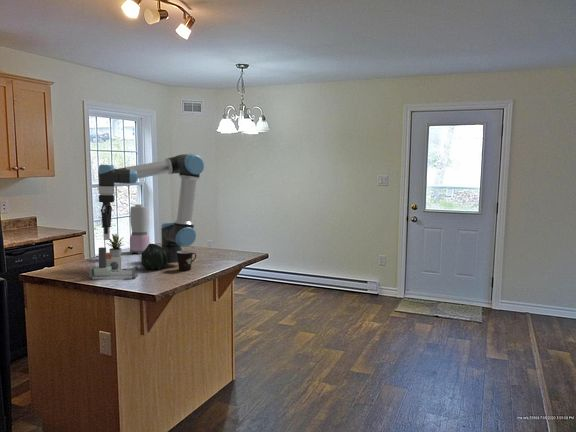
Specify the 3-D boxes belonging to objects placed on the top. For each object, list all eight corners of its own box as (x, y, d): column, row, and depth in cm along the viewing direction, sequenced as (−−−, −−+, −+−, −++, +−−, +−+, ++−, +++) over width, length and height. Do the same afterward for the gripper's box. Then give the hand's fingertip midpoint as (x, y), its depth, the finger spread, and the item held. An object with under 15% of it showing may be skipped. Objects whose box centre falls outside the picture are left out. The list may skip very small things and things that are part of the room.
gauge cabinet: (121, 271, 236) (121, 256, 235) (118, 274, 230) (118, 259, 229) (103, 271, 235) (103, 257, 234) (100, 274, 228) (99, 259, 228)
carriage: (111, 272, 226) (111, 246, 224) (108, 275, 220) (108, 248, 218) (97, 272, 225) (96, 246, 223) (93, 275, 219) (93, 248, 217)
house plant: (98, 258, 271) (97, 231, 270) (120, 255, 280) (120, 230, 279) (106, 261, 261) (106, 234, 259) (129, 259, 270) (129, 232, 268)
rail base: (137, 275, 228) (137, 266, 228) (135, 278, 221) (135, 268, 221) (93, 276, 225) (93, 266, 224) (88, 279, 218) (88, 269, 218)
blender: (142, 254, 285) (142, 205, 282) (125, 253, 288) (125, 204, 285) (155, 250, 300) (155, 204, 297) (139, 249, 303) (138, 203, 300)
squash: (177, 257, 251) (161, 237, 251) (165, 263, 236) (147, 241, 237) (160, 272, 254) (144, 252, 255) (147, 279, 240) (130, 258, 240)
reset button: (112, 260, 234) (112, 253, 233) (110, 261, 230) (110, 254, 229) (104, 260, 233) (104, 253, 233) (102, 261, 229) (102, 254, 229)
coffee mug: (179, 272, 238) (179, 253, 237) (175, 268, 246) (175, 251, 245) (200, 270, 244) (200, 252, 243) (195, 267, 251) (195, 249, 250)
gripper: (102, 193, 234) (102, 238, 236) (95, 194, 221) (95, 241, 223) (117, 194, 235) (117, 238, 237) (110, 195, 222) (111, 241, 224)
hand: (106, 239), depth 230 cm, fingers closed
